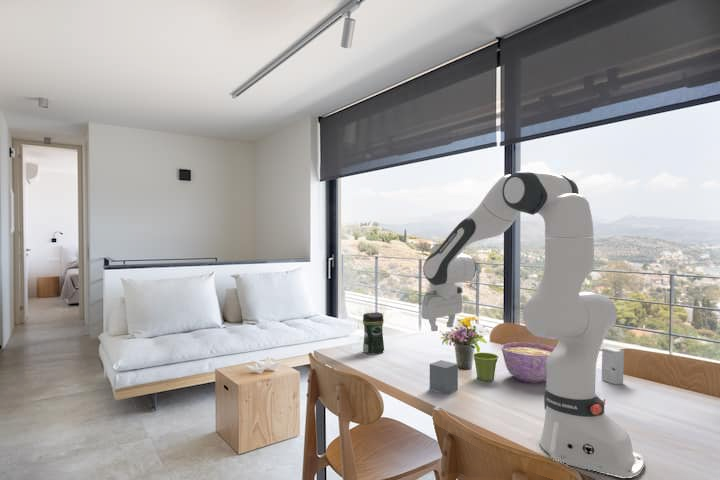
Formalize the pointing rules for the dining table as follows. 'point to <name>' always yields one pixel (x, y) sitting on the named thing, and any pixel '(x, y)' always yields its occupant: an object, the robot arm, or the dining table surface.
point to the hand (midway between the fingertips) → (442, 328)
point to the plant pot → (485, 365)
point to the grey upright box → (443, 376)
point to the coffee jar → (373, 333)
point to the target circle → (439, 391)
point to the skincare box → (612, 365)
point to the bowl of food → (526, 360)
